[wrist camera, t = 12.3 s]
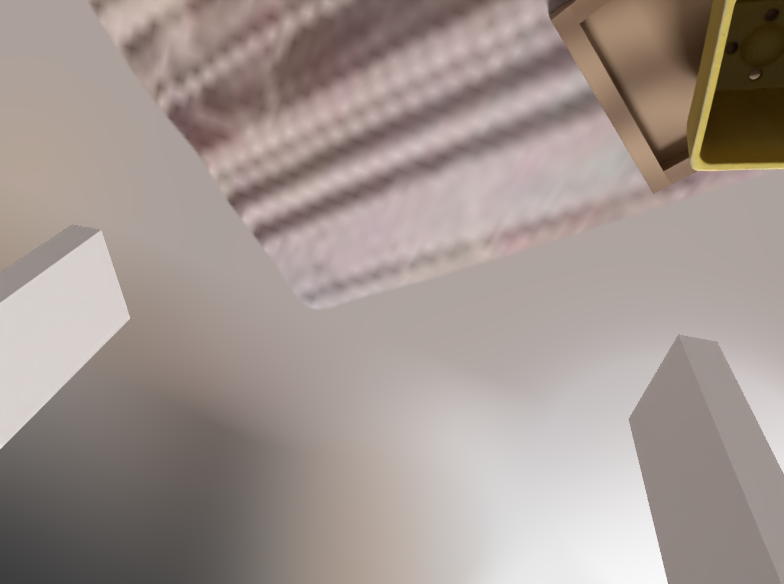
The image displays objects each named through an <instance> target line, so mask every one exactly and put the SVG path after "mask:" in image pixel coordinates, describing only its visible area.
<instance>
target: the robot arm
mask: <svg viewBox="0 0 784 584" xmlns="http://www.w3.org/2000/svg"><path fill="white" fill-rule="evenodd" d="M129 319H130V316H129V313H128V310H127V307H126V304H125V301H124V298H123V295H122V292H121V289H120V286H119V283H118V280H117V276H116V274H115V270H114V267H113V264H112V262H111V258H110V255H109V253H108V249H107V246H106V243H105V240H104V237H103V234H102V231H101V230H99V229H93V228H87V227H82V226H77V225H71V226H69V227H68V228H66V229H65V230H63V231H62V232H60V233H59V234H57V235H56V236H54V237H53V238H51V239H50V240H48V241H46V242H45V243H43V244H42V245H40V246H39V247H38V248H36V249H35V250H33V251H31V252H30V253H28V254H27V255H25V256H24V257H22V258H21V259H19V260H18V261H16V262H15V263H13V264H12V265H10V266H9V267H7V268H6V269H4V270H3V271H1V272H0V449H1V448H2V447H3V446H4V445H5V444H6V443H7V442H8V441H9V439H11V438H12V437H13V436H14V435H15V434H16V432H18V431H19V429H21V428H22V427H23V426H24V425H25V424H26V423H27V422H28V421H29V420H30V418H32V417H33V416H34V415H35V414H36V413H37V412H38V411H39V410H40V409H41V408H42V407H43V405H45V403H47V402H48V401H49V400H50V398H52V397H53V396H54V394H55V393H56V392H57V391H58V390H59V389H60V388H61V387H62V386H63V385H64V384H65V383H66V382H67V381H68V380H69V379H70V378H71V377H72V376H73V375H74V374H75V373H76V372H77V371H78V370H79V369H80V368H81V367H82V366H83V365H84V364H85V363H86V362H87V361H88V360H89V359H90V358H91V357H92V356H93V355H94V354H95V353H96V352H97V351H98V350H99V349H100V348H101V347H102V346H103V345H104V344H105V343H106V342H107V341H108V340H109V339H110V338H111V337H112V336H113V335H114V334H115V333H116V332H117V331H118V330H119V329H120V328H121V327H122V326H123V325H124V324H125V323H126V322H127V321H128V320H129ZM629 422H630V426H631V431H632V435H633V439H634V443H635V447H636V451H637V456H638V460H639V464H640V468H641V472H642V477H643V481H644V485H645V489H646V493H647V497H648V502H649V506H650V510H651V514H652V518H653V522H654V526H655V531H656V534H657V539H658V543H659V547H660V552H661V556H662V560H663V564H664V568H665V572H666V577H667V581H668V584H784V474H783V472H782V470H781V468H780V466H779V464H778V462H777V460H776V458H775V456H774V454H773V452H772V450H771V448H770V446H769V444H768V442H767V440H766V438H765V436H764V434H763V432H762V430H761V428H760V426H759V424H758V422H757V420H756V418H755V416H754V414H753V412H752V410H751V408H750V406H749V404H748V402H747V401H746V398H745V396H744V394H743V392H742V390H741V388H740V386H739V384H738V382H737V380H736V379H735V376H734V374H733V372H732V370H731V368H730V366H729V364H728V362H727V360H726V359H725V357H724V354H723V352H722V350H721V348H720V346H719V345H718V342H715V341H710V340H705V339H699V338H693V337H688V336H683V335H678V336H677V338H676V339H675V341H674V343H673V345H672V346H671V348H670V350H669V351H668V353H667V355H666V357H665V358H664V360H663V362H662V363H661V365H660V367H659V369H658V370H657V372H656V374H655V375H654V377H653V379H652V380H651V382H650V384H649V385H648V387H647V389H646V390H645V392H644V394H643V396H642V397H641V399H640V401H639V402H638V404H637V406H636V407H635V409H634V411H633V413H632V414H631V416H630V418H629Z"/></svg>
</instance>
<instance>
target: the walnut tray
mask: <svg viewBox="0 0 784 584" xmlns="http://www.w3.org/2000/svg"><path fill="white" fill-rule="evenodd" d="M712 3H713V0H568V1H567V2H565V3H564V4H563V5H562V6H560V7H559V8H558V9H557V10H555V11H554V12H553V13H552V14H550V15H549V17H550V19H551V21H552V23H553V24H554V26H555V28H556V29H557V31H558V33H559V35H560V36H561V38H562V40H563V41H564V43H565V45H566V46H567V48H568V50H569V51H570V53H571V55H572V57H573V58H574V60H575V62H576V63H577V65H578V67H579V68H580V70H581V72H582V74H583V75H584V77H585V79H586V80H587V82H588V84H589V85H590V87H591V89H592V90H593V92H594V94H595V96H596V97H597V99H598V101H599V102H600V104H601V106H602V107H603V109H604V111H605V113H606V114H607V116H608V118H609V119H610V121H611V123H612V124H613V126H614V128H615V129H616V131H617V133H618V135H619V136H620V138H621V140H622V141H623V143H624V145H625V146H626V148H627V150H628V152H629V153H630V155H631V157H632V158H633V160H634V162H635V163H636V165H637V167H638V168H639V170H640V172H641V174H642V175H643V177H644V179H645V180H646V182H647V184H648V185H649V187H650V189H651V191H652V192H653V194H654V193H656V192H658V191H660V190H662V189H664V188H666V187H668V186H670V185H672V184H673V183H675V182H677V181H679V180H681V179H683V178H685V177H687V176H689V175H691V174H693V173H694V172H696V171H697V170H694V169H692V167H691V165H690V159H689V152H688V142H687V131H686V129H687V121H688V116H689V112H690V107H691V103H692V99H693V94H694V90H695V86H696V81H697V77H698V72H699V67H700V63H701V58H702V53H703V48H704V43H705V38H706V33H707V28H708V23H709V18H710V13H711V8H712ZM776 16H777V10H776V9H771V10H769V11H768V12H767V14H766V16H765V17H766V19H767V20H772V19H774V18H775V17H776ZM736 49H737V45H736V43H730V44H729V45H728V46H727V47H726V51H727V53H732V52H734V51H735V50H736ZM760 73H761V72H760V70H754V71H752V72H751V73H750V78H751V79H756V78H758V77H759V76H760Z"/></svg>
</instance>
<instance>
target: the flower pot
mask: <svg viewBox="0 0 784 584" xmlns="http://www.w3.org/2000/svg"><path fill="white" fill-rule="evenodd" d="M771 9H776V10H777V16H776V17H775V18H774V19H772V20H767V19H766V17H765V16H766V14H767V12H768V11H769V10H771ZM730 43H736V45H737V49H736V50H735V51H734V52H732V53H727V51H726V47H727V46H728V45H729V44H730ZM754 70H760V72H761V73H760V76H759V77H758V78H756V79H751V78H750V73H751V72H752V71H754ZM686 131H687V142H688V152H689V159H690V165H691V167H692V169H694V170H697V171H723V170H758V169H784V0H713V3H712V8H711V13H710V18H709V23H708V28H707V33H706V38H705V43H704V48H703V53H702V58H701V63H700V67H699V72H698V77H697V81H696V86H695V90H694V94H693V99H692V103H691V107H690V112H689V116H688V121H687V129H686Z"/></svg>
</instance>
